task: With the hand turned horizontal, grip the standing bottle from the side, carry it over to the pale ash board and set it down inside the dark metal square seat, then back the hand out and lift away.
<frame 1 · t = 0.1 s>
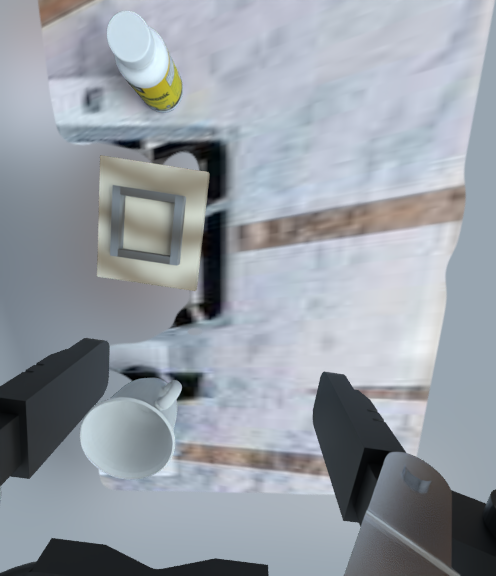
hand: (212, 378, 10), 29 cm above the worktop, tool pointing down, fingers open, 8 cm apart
teacup: (161, 386, 43), on the worktop
seat board: (153, 226, 37), on the worktop
supplement bottle: (163, 91, 34), on the worktop
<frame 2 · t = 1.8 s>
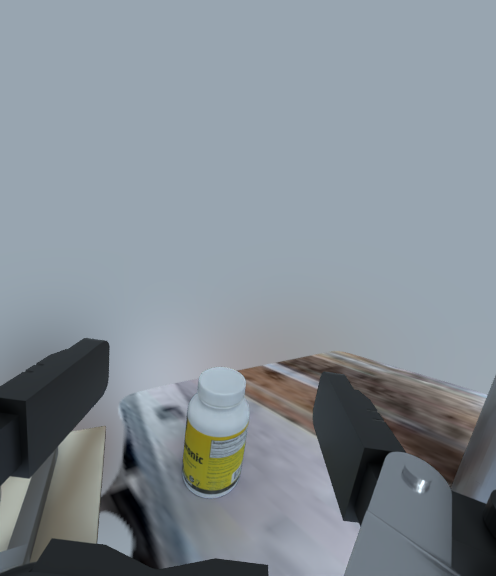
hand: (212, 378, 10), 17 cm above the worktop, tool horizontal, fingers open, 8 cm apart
supplement bottle: (210, 474, 25), on the worktop
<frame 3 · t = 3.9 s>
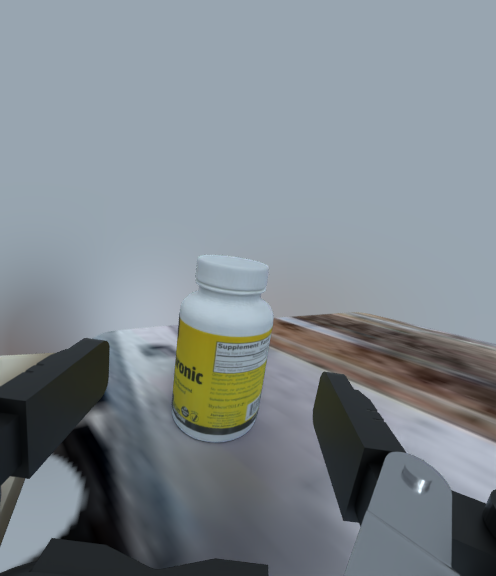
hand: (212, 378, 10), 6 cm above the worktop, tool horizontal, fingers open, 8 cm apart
supplement bottle: (213, 415, 17), on the worktop
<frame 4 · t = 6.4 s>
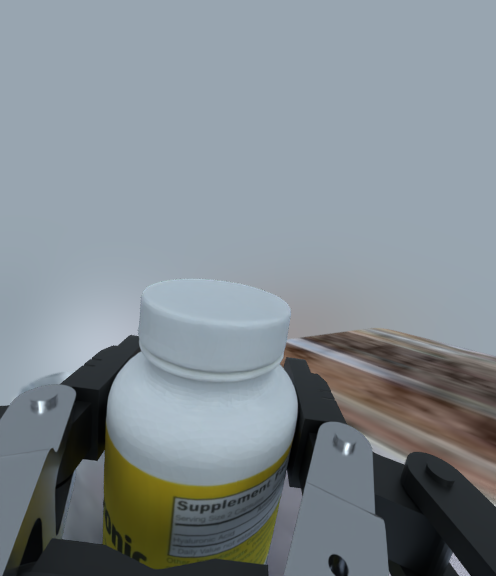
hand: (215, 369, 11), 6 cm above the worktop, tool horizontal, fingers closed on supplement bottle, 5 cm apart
supplement bottle: (185, 562, 10), on the worktop, touching gripper
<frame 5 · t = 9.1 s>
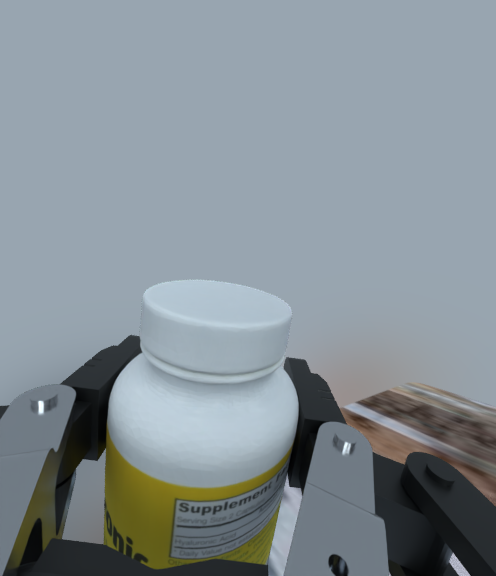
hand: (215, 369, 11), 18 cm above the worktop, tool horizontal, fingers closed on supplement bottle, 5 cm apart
supplement bottle: (186, 564, 10), point 12 cm above the worktop, touching gripper
when the fingers open (8 cm above the worktop, at t = 12.2 s): supplement bottle stays where it is, resting on seat board.
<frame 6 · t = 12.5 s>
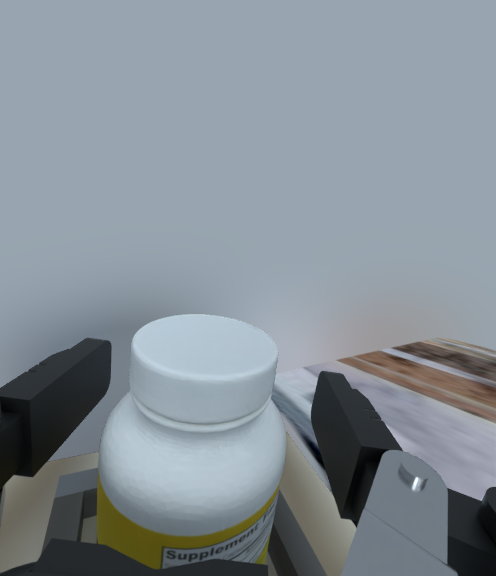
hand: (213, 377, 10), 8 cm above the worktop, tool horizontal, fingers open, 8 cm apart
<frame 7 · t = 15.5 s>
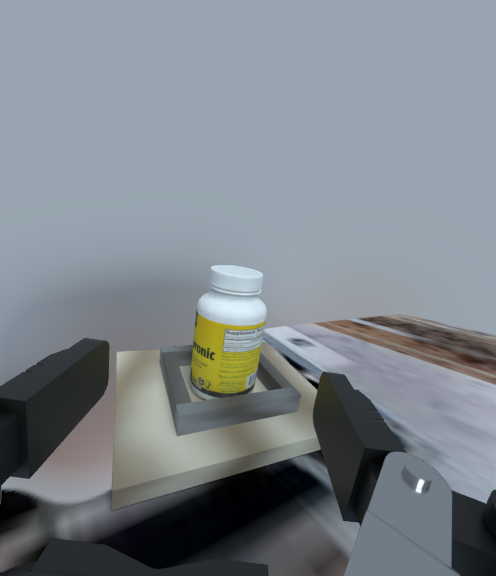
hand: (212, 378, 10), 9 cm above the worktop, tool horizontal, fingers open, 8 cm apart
seat board: (220, 397, 23), on the worktop
supplement bottle: (221, 387, 22), point 1 cm above the worktop, touching seat board
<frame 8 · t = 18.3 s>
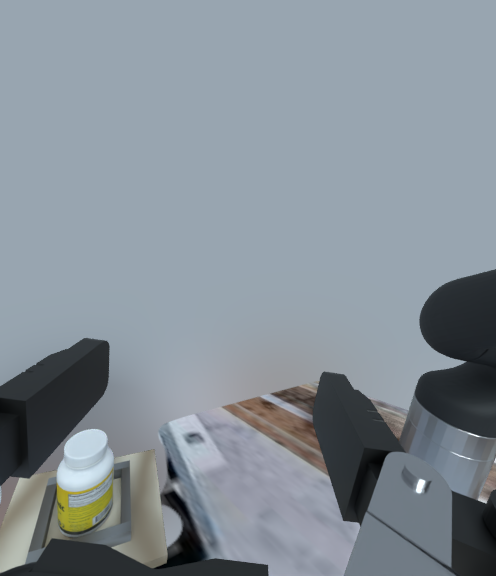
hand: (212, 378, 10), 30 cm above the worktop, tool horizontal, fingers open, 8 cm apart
seat board: (87, 520, 31), on the worktop
supplement bottle: (86, 515, 31), point 1 cm above the worktop, touching seat board
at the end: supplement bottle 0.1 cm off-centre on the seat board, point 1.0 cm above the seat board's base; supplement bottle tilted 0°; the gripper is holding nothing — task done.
